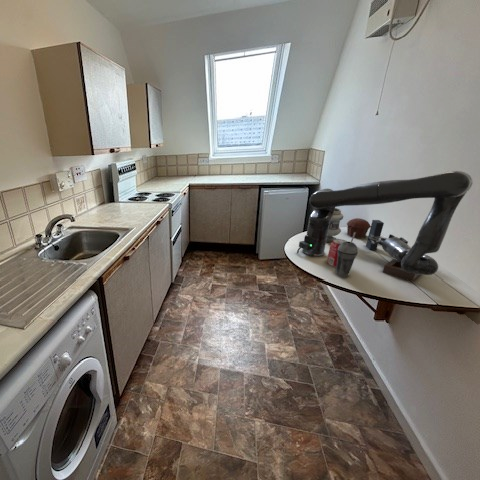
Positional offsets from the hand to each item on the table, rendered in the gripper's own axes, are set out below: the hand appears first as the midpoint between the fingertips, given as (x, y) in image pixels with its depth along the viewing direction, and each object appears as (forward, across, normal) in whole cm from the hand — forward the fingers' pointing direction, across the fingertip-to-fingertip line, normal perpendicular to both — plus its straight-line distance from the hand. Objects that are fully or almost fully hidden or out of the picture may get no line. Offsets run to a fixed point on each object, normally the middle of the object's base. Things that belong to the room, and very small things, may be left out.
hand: (379, 235), depth 133 cm
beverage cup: (-29, +24, +9) cm, 38 cm away
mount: (-22, -1, +9) cm, 24 cm away
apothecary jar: (+15, +18, +9) cm, 26 cm away
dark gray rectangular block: (+5, 0, +9) cm, 10 cm away
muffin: (+24, 0, +9) cm, 26 cm away
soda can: (-19, +24, +9) cm, 32 cm away
